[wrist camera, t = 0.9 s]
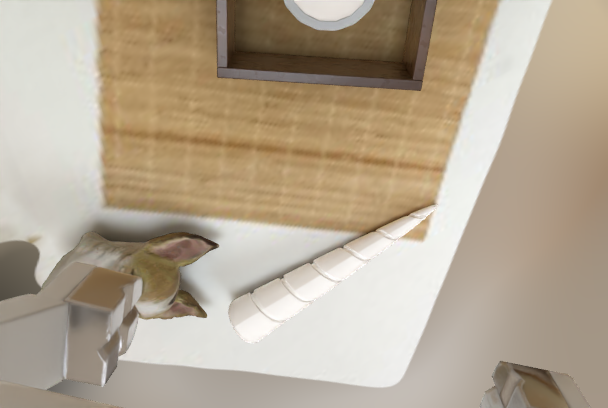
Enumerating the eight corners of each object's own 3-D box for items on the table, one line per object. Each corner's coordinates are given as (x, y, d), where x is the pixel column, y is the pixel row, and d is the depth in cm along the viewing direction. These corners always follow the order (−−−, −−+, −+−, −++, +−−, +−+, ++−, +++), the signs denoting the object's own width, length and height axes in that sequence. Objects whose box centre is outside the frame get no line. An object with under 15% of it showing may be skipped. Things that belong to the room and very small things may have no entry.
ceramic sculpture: (32, 253, 44) (215, 278, 47) (65, 199, 52) (222, 223, 54) (35, 345, 49) (200, 363, 52) (66, 284, 57) (208, 302, 59)
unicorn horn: (452, 230, 54) (464, 258, 49) (253, 322, 60) (248, 355, 56) (432, 194, 52) (443, 220, 47) (228, 294, 58) (222, 325, 54)
